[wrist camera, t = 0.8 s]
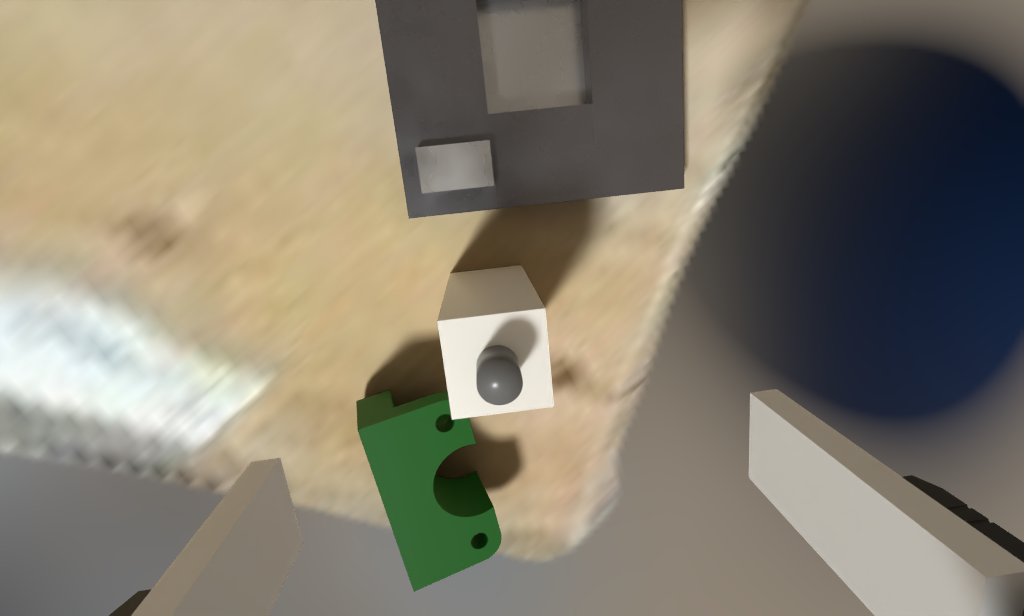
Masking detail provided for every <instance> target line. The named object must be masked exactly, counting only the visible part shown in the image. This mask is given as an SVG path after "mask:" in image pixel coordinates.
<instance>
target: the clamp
mask: <svg viewBox="0 0 1024 616" xmlns="http://www.w3.org/2000/svg"><path fill="white" fill-rule="evenodd" d="M357 424H358V432H359V435H360V438H361V441H362V444H363V447H364V450H365V452H366V455H367V458H368V461H369V464H370V467H371V470H372V473H373V475H374V478H375V481H376V484H377V487H378V490H379V493H380V496H381V498H382V501H383V504H384V507H385V510H386V513H387V516H388V519H389V521H390V524H391V527H392V530H393V533H394V536H395V539H396V542H397V544H398V547H399V550H400V553H401V556H402V559H403V561H404V564H405V567H406V570H407V573H408V576H409V579H410V581H411V585H412V587H413V590H414V591H416V590H419V589H421V588H423V587H425V586H427V585H430V584H432V583H434V582H436V581H439V580H441V579H443V578H446V577H448V576H450V575H452V574H455V573H457V572H459V571H461V570H464V569H466V568H468V567H470V566H473V565H475V564H477V563H479V562H482V561H484V560H486V559H488V558H490V557H491V556H492V555H493V554H494V553H495V552H496V551H497V549H498V548H499V546H500V543H501V532H500V528H499V525H498V521H497V517H496V514H495V510H494V507H493V505H492V503H491V501H490V499H489V497H488V494H487V492H486V490H485V488H484V486H483V484H482V482H481V480H480V478H479V476H478V474H477V472H476V471H475V472H473V473H471V474H469V475H467V476H464V477H461V478H456V479H447V478H442V477H439V476H437V475H435V474H436V471H437V469H438V467H439V466H440V464H441V463H442V461H443V460H444V459H445V458H446V457H447V456H448V455H449V454H451V453H452V452H454V451H455V450H457V449H459V448H461V447H463V446H467V445H471V444H476V442H475V439H474V435H473V432H472V428H471V424H470V421H469V418H462V419H454V420H452V417H451V410H450V404H449V397H448V392H438V393H434V394H431V395H428V396H426V397H423V398H420V399H417V400H414V401H411V402H408V403H405V404H402V405H399V406H397V407H395V405H394V402H393V399H392V395H391V393H390V390H388V391H385V392H382V393H379V394H376V395H373V396H370V397H367V398H364V399H361V400H358V401H357ZM476 534H477V535H476Z"/></svg>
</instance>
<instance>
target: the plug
mask: <svg viewBox="0 0 1024 616" xmlns="http://www.w3.org/2000/svg"><path fill="white" fill-rule="evenodd" d="M437 322H438V329H439V336H440V343H441V349H442V356H443V363H444V370H445V376H446V383H447V390H448V397H449V404H450V410H451V417H452V420H454V419H462V418H469V417H477V416H485V415H493V414H501V413H509V412H516V411H524V410H532V409H540V408H548V407H554V401H553V390H552V378H551V367H550V356H549V344H548V333H547V322H546V311H545V307H544V305H543V303H542V301H541V300H540V298H539V296H538V294H537V292H536V291H535V289H534V287H533V285H532V283H531V282H530V280H529V278H528V276H527V274H526V273H525V271H524V269H523V267H522V265H517V266H509V267H500V268H491V269H482V270H474V271H465V272H456V273H450V276H449V280H448V284H447V287H446V291H445V295H444V298H443V302H442V306H441V309H440V313H439V317H438V320H437Z"/></svg>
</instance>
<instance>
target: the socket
mask: <svg viewBox="0 0 1024 616" xmlns="http://www.w3.org/2000/svg"><path fill="white" fill-rule="evenodd" d="M375 2H376V8H377V15H378V21H379V28H380V34H381V41H382V47H383V54H384V60H385V67H386V73H387V80H388V86H389V93H390V99H391V105H392V112H393V118H394V125H395V131H396V138H397V144H398V151H399V157H400V164H401V170H402V177H403V183H404V190H405V196H406V203H407V209H408V216H409V218H417V217H426V216H435V215H445V214H454V213H463V212H472V211H481V210H490V209H500V208H509V207H518V206H527V205H536V204H545V203H555V202H564V201H573V200H582V199H591V198H600V197H610V196H619V195H628V194H637V193H646V192H655V191H665V190H674V189H683V188H684V132H683V53H682V0H375Z"/></svg>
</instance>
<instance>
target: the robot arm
mask: <svg viewBox="0 0 1024 616" xmlns="http://www.w3.org/2000/svg"><path fill="white" fill-rule="evenodd" d="M749 443H750V445H749V478H750V479H751V480H752V482H753V483H754V484H755V485H756V486H757V487H758V488H759V489H760V490H761V491H762V493H763V494H764V495H765V496H766V497H767V498H768V499H769V500H770V501H771V502H772V503H773V505H774V506H775V507H776V508H777V509H778V510H779V511H780V512H781V513H782V514H783V515H784V516H785V518H786V519H787V520H788V521H789V522H790V523H791V524H792V525H793V527H794V528H795V529H796V530H797V531H798V532H799V533H800V534H801V535H802V536H803V537H804V538H805V540H806V541H807V542H808V543H809V544H810V545H811V546H812V547H813V548H814V550H815V551H816V552H817V553H818V554H819V555H820V556H821V557H822V558H823V559H824V560H825V562H826V563H827V564H828V565H829V566H830V567H831V568H832V569H833V570H834V571H835V572H836V574H837V575H838V576H839V577H840V578H841V579H842V580H843V581H844V582H845V583H846V585H847V586H848V587H849V588H850V589H851V590H852V591H853V592H854V593H855V594H856V595H857V597H858V598H859V599H860V600H861V601H862V602H863V603H864V604H865V605H866V606H867V608H868V609H869V610H870V611H871V612H872V613H873V614H874V615H875V616H1024V542H1022V541H1021V540H1019V539H1018V538H1016V537H1014V536H1013V535H1012V534H1010V533H1009V532H1007V531H1006V530H1004V529H1003V528H1001V527H1000V526H998V525H997V524H995V523H990V522H989V521H988V518H986V517H985V516H983V515H982V514H980V513H979V512H977V511H975V510H974V509H972V508H971V509H969V508H968V507H967V504H965V503H964V502H962V501H961V500H959V499H958V498H956V497H954V496H953V495H951V494H950V493H949V492H947V491H946V490H944V489H943V488H940V487H938V486H936V485H933V484H931V483H929V482H926V481H924V480H921V479H919V478H917V477H914V476H912V475H911V476H904V477H901V476H899V475H898V474H897V473H895V472H894V471H892V470H891V469H890V468H888V467H887V466H885V465H884V464H882V463H881V462H880V461H878V460H877V459H875V458H874V457H872V456H871V455H870V454H868V453H867V452H865V451H864V450H862V449H861V448H859V447H858V446H857V445H855V444H854V443H852V442H851V441H850V440H848V439H847V438H845V437H844V436H842V435H841V434H840V433H838V432H837V431H835V430H834V429H832V428H831V427H830V426H828V425H827V424H825V423H824V422H823V421H821V420H820V419H818V418H817V417H815V416H814V415H813V414H811V413H810V412H808V411H807V410H805V409H804V408H803V407H801V406H800V405H798V404H797V403H796V402H794V401H793V400H791V399H790V398H788V397H787V396H786V395H784V394H783V393H781V392H780V391H778V390H777V389H775V390H767V391H760V392H753V393H750V440H749ZM302 544H303V541H302V537H301V533H300V529H299V526H298V522H297V518H296V515H295V511H294V507H293V504H292V500H291V496H290V492H289V489H288V485H287V481H286V478H285V474H284V470H283V466H282V463H281V459H280V458H277V459H269V460H262V461H255V462H251V463H250V465H249V466H248V467H247V469H246V470H245V471H244V472H243V474H242V475H241V476H240V477H239V479H238V480H237V481H236V483H235V484H234V485H233V486H232V488H231V489H230V490H229V491H228V493H227V494H226V495H225V497H224V498H223V499H222V500H221V502H220V503H219V504H218V506H217V507H216V508H215V509H214V511H213V512H212V513H211V515H210V516H209V517H208V518H207V520H206V521H205V522H204V524H203V525H202V526H201V527H200V528H199V530H198V531H197V532H196V534H195V535H194V536H193V537H192V539H191V540H190V541H189V543H188V544H187V545H186V546H185V548H184V549H183V550H182V552H181V553H180V554H179V555H178V557H177V558H176V559H175V560H174V562H173V563H172V564H171V565H170V567H169V568H168V569H167V571H166V572H165V573H164V574H163V576H162V577H161V578H160V580H159V581H158V582H157V583H156V585H155V586H154V587H153V589H151V590H145V591H139V592H137V593H136V594H135V595H133V596H132V597H131V598H130V599H129V600H127V601H126V602H125V603H124V604H122V605H121V606H120V607H119V608H118V609H116V610H115V611H114V612H113V613H111V614H110V615H109V616H269V614H270V612H271V610H272V607H273V605H274V603H275V601H276V599H277V597H278V595H279V593H280V591H281V589H282V586H283V584H284V582H285V580H286V578H287V576H288V574H289V571H290V569H291V567H292V565H293V563H294V561H295V559H296V556H297V554H298V552H299V550H300V548H301V546H302Z"/></svg>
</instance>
